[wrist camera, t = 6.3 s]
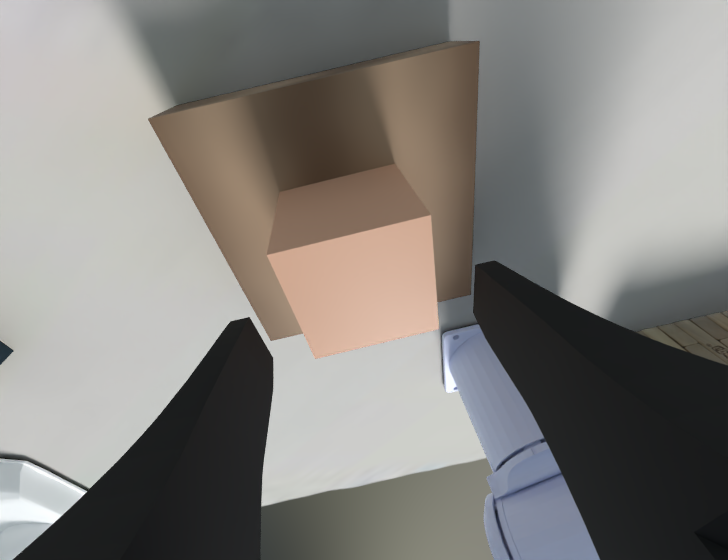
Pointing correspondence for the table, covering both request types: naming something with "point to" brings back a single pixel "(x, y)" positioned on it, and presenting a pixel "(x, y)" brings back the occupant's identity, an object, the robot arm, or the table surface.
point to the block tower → (696, 336)
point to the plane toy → (30, 503)
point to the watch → (4, 352)
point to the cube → (356, 260)
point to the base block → (332, 156)
